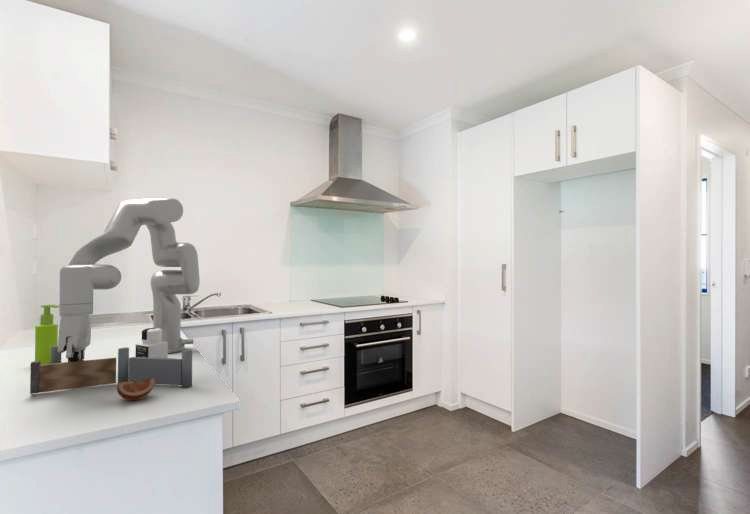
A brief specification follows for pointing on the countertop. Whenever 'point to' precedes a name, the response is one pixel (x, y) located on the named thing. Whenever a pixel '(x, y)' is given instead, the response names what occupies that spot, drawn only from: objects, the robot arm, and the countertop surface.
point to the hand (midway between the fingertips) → (76, 375)
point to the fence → (148, 368)
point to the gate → (71, 375)
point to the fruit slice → (135, 388)
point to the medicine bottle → (152, 344)
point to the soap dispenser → (45, 336)
